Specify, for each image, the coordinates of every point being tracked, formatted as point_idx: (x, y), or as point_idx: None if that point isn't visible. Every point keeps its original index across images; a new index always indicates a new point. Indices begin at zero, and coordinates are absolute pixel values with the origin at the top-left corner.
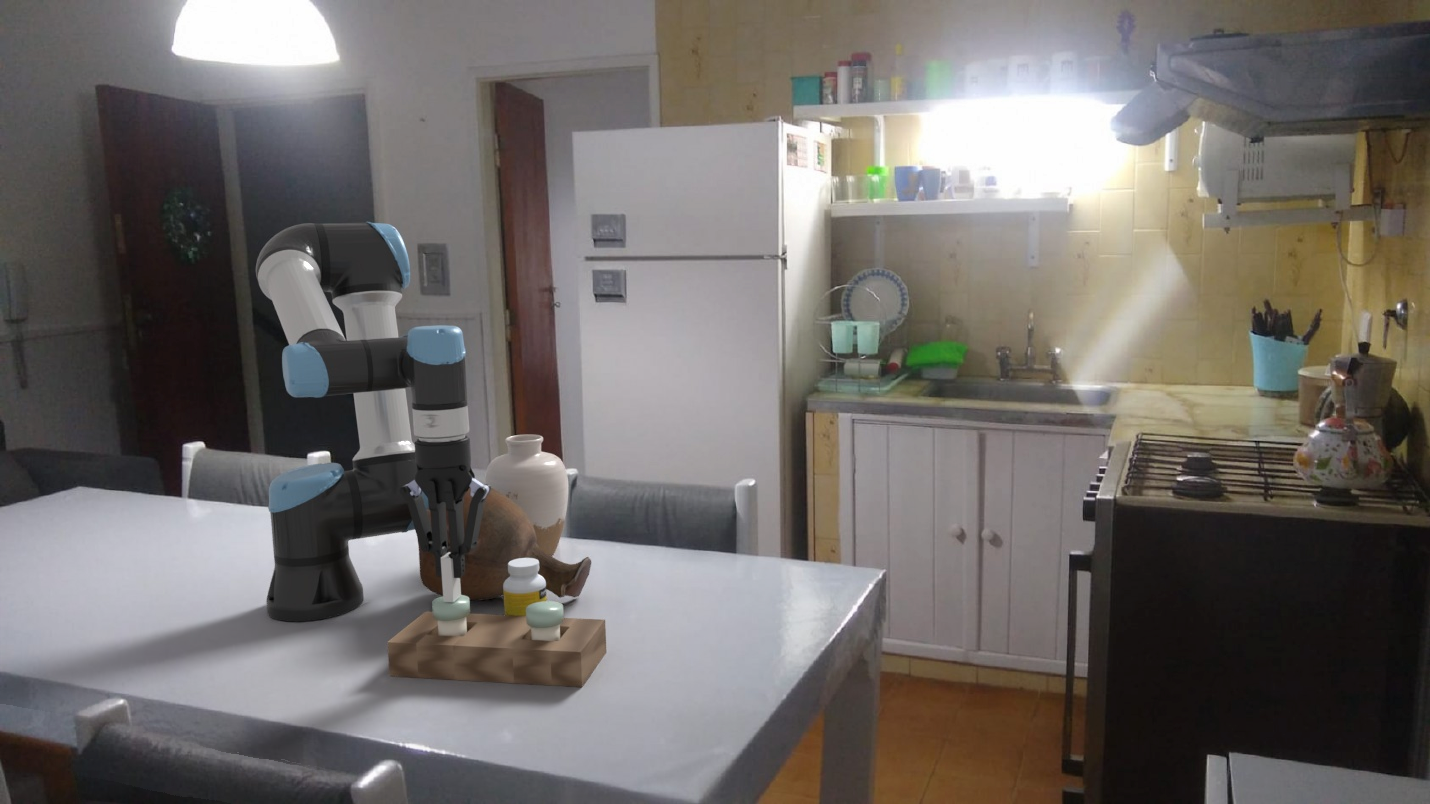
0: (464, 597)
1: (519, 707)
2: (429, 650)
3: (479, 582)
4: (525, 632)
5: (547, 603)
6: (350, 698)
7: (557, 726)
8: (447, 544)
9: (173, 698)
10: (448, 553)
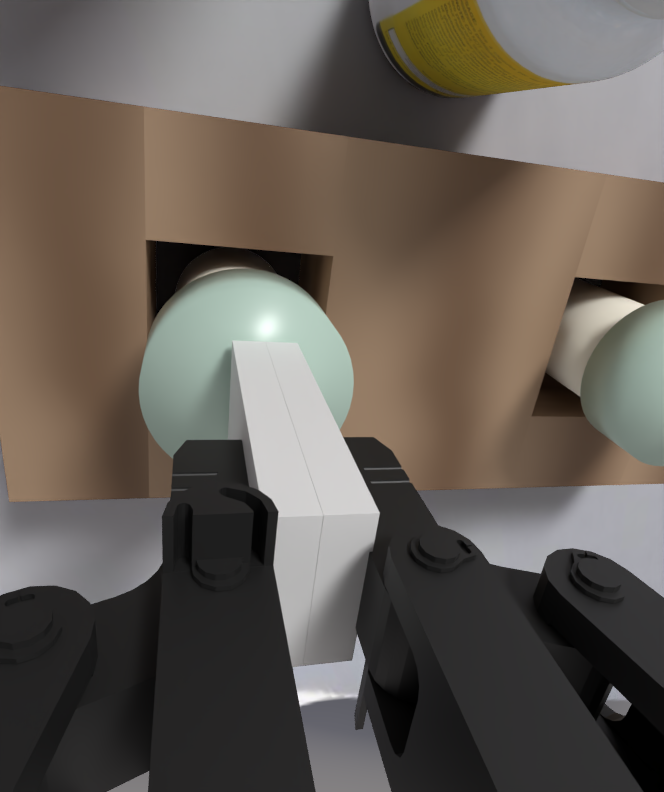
0: (314, 335)
1: (483, 537)
2: None
3: None
4: (544, 354)
5: None
6: (13, 569)
7: None
8: (279, 612)
9: None
10: (282, 558)
